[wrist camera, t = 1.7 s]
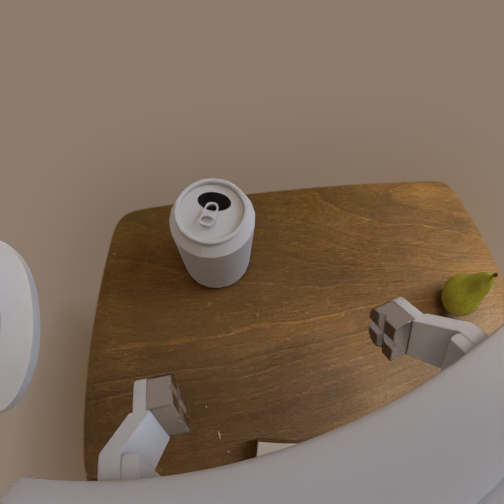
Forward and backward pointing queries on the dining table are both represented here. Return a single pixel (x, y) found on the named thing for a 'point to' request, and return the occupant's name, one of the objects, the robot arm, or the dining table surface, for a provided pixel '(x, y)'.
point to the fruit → (466, 292)
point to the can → (213, 231)
